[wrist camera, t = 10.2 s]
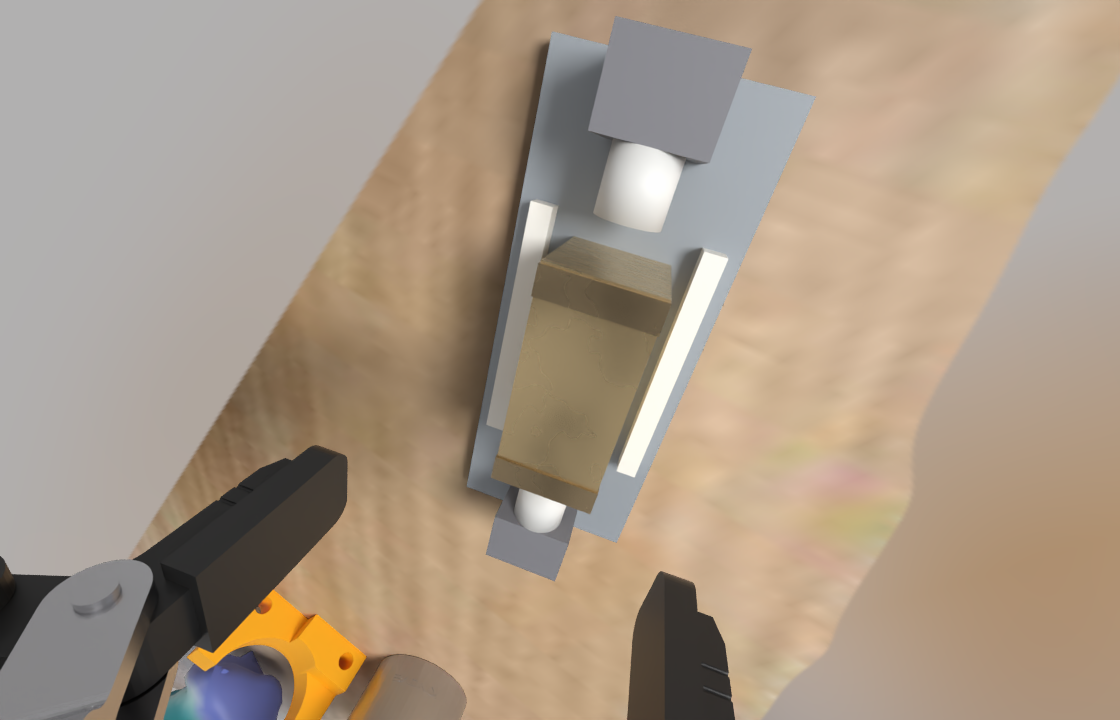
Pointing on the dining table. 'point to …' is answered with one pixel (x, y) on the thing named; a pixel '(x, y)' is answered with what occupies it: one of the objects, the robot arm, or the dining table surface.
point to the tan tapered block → (580, 368)
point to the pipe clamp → (295, 654)
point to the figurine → (227, 692)
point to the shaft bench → (633, 234)
